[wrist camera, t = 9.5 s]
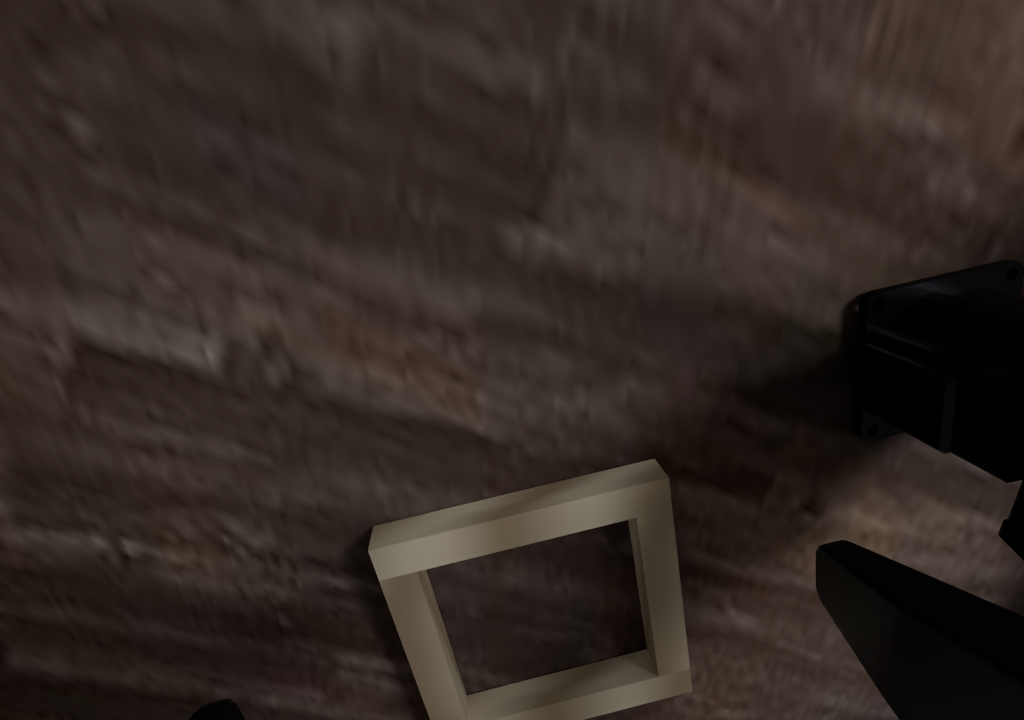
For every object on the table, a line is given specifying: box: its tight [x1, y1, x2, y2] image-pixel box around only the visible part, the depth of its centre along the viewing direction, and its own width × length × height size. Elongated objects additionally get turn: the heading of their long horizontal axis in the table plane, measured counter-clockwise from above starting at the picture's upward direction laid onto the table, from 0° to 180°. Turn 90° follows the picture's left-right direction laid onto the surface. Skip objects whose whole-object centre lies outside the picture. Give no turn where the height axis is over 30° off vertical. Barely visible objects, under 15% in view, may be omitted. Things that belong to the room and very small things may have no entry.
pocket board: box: [368, 458, 692, 720], centre depth 23 cm, size 12×12×2 cm
